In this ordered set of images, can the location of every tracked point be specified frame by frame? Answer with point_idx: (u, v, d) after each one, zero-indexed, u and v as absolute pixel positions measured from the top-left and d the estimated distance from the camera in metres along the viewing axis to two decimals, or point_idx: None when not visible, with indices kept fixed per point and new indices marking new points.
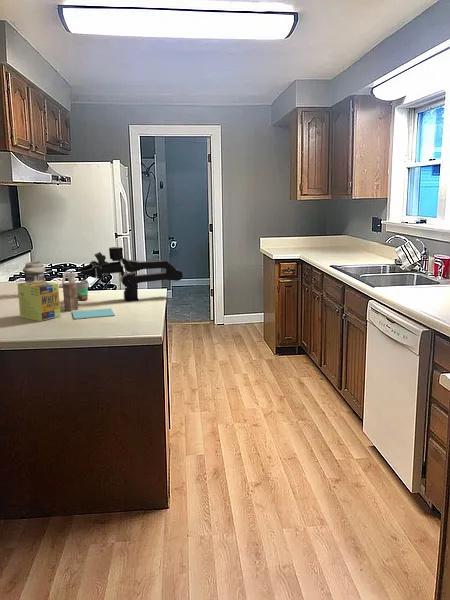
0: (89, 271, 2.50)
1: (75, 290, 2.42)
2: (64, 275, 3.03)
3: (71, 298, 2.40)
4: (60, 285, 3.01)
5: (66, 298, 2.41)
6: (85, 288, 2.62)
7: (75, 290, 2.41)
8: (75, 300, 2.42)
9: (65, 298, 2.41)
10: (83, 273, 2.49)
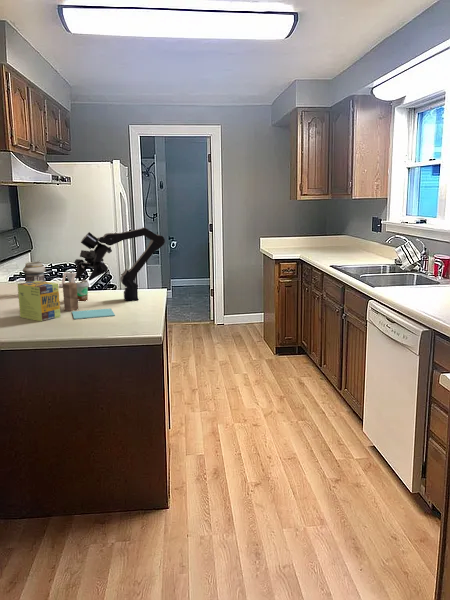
0: (94, 272, 2.46)
1: (75, 290, 2.42)
2: (64, 275, 3.03)
3: (71, 298, 2.40)
4: (60, 285, 3.01)
5: (66, 298, 2.41)
6: (85, 288, 2.62)
7: (75, 290, 2.41)
8: (75, 300, 2.42)
9: (65, 298, 2.41)
10: (91, 278, 2.46)
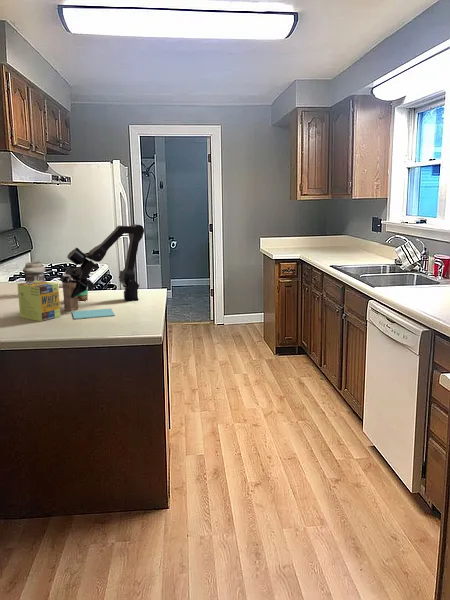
0: (77, 289, 2.41)
1: None
2: (64, 275, 3.03)
3: (71, 298, 2.40)
4: (60, 285, 3.01)
5: (66, 298, 2.41)
6: None
7: None
8: (75, 300, 2.42)
9: (65, 298, 2.41)
10: (74, 295, 2.40)
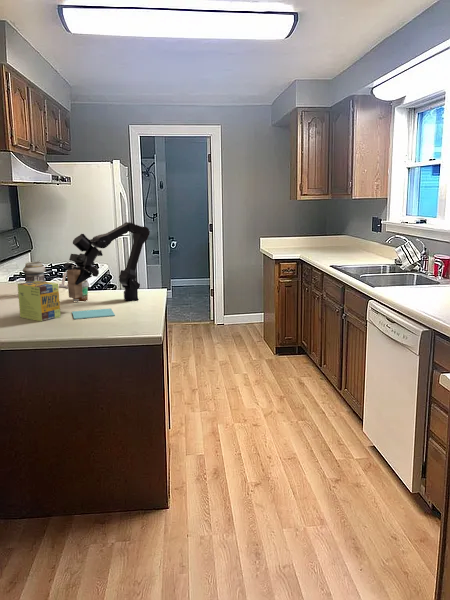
0: (81, 276, 2.37)
1: None
2: (64, 275, 3.03)
3: (75, 285, 2.37)
4: (60, 285, 3.01)
5: (70, 285, 2.37)
6: (85, 288, 2.62)
7: None
8: (80, 287, 2.39)
9: (69, 285, 2.38)
10: (78, 282, 2.37)
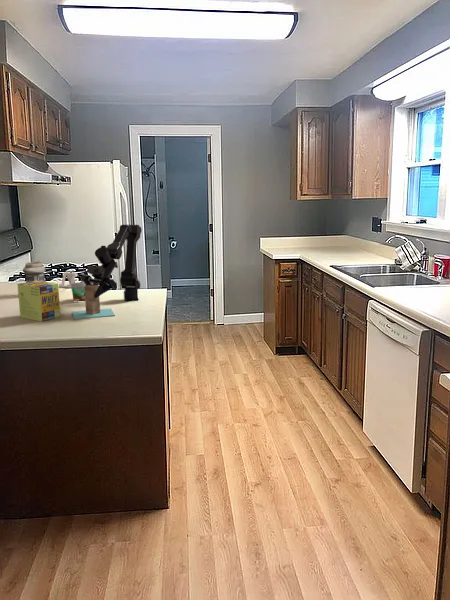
0: (101, 289, 2.31)
1: None
2: (64, 275, 3.03)
3: (93, 301, 2.31)
4: (60, 285, 3.01)
5: (88, 301, 2.32)
6: None
7: None
8: (97, 303, 2.33)
9: (87, 301, 2.32)
10: (97, 295, 2.31)
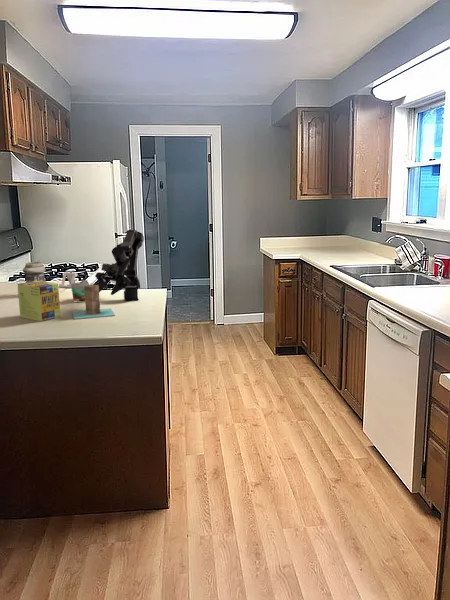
0: (117, 286, 2.38)
1: (97, 293, 2.32)
2: (64, 275, 3.03)
3: (93, 301, 2.31)
4: (60, 285, 3.01)
5: (88, 301, 2.32)
6: None
7: (97, 292, 2.32)
8: (97, 303, 2.33)
9: (87, 301, 2.32)
10: (114, 292, 2.37)
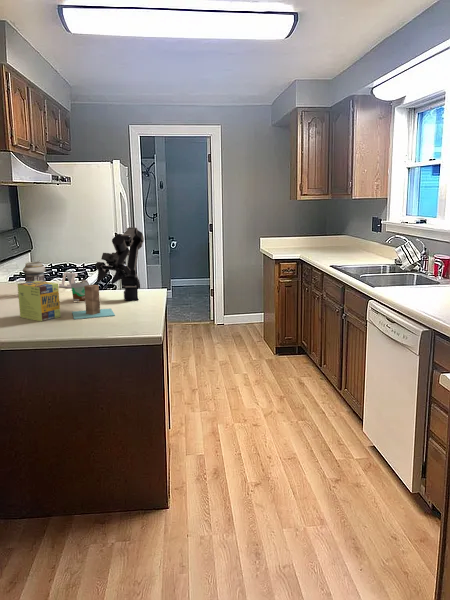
0: (117, 276, 2.37)
1: (97, 293, 2.32)
2: (64, 275, 3.03)
3: (93, 301, 2.31)
4: (60, 285, 3.01)
5: (88, 301, 2.32)
6: None
7: (97, 292, 2.32)
8: (97, 303, 2.33)
9: (87, 301, 2.32)
10: (114, 281, 2.37)
